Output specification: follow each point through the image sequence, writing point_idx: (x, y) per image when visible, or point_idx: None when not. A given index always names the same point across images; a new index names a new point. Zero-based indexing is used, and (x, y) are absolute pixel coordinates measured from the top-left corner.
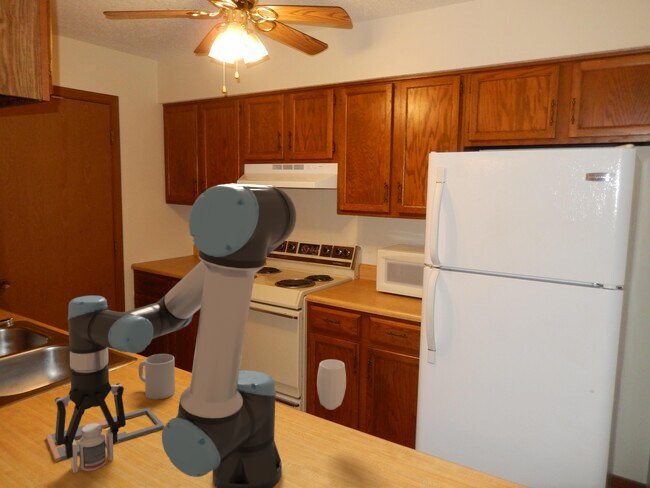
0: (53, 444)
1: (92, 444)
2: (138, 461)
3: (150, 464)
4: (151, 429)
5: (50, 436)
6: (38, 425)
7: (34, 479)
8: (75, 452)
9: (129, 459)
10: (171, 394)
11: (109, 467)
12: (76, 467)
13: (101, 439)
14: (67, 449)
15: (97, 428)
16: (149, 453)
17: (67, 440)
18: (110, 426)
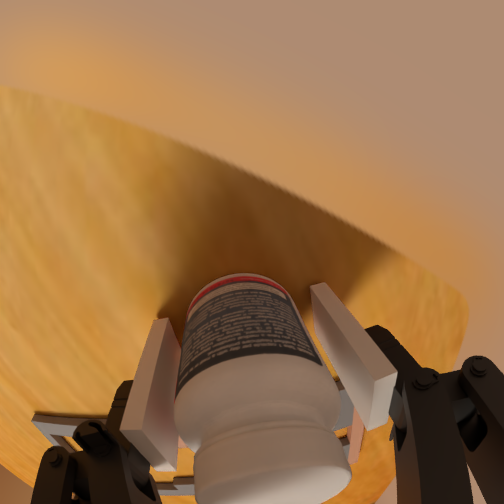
0: (354, 437)
1: (263, 368)
2: (53, 267)
3: (14, 223)
4: (58, 423)
5: (349, 460)
6: (352, 482)
7: (431, 292)
8: (359, 341)
9: (88, 299)
10: (74, 494)
11: (168, 271)
12: (321, 294)
13: (193, 402)
14: (405, 357)
15: (228, 492)
16: (28, 306)
17: (445, 391)
18: (123, 480)
